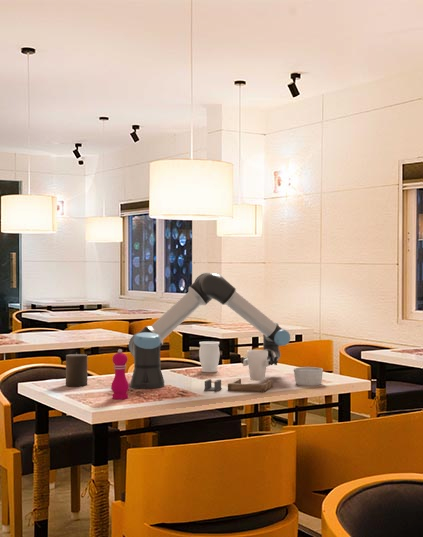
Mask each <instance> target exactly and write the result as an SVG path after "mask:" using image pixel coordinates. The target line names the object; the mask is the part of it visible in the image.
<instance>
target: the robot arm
mask: <svg viewBox="0 0 423 537" xmlns="http://www.w3.org/2000/svg"><path fill="white" fill-rule="evenodd" d="M212 300H215V301H217V302H218V303H219V304H221V305H223V306H224V305H226V306H227V307H229V308H230V310H232V311H233V312H235V314H236V315H238V316H240V317H241V318H242V319H244V320H245V321H246V322H247V323H249V324H250V325H251V326H252V327H253V328H255V329H256V330H258V331H259V332H260V333H261V334H262V338H263V339H262V340H263V343H262V346H263V347H262V348H263V349H262V350H267V351H268V357H267V360H266V361H265V367H266V368H268V367H269V366H273V365H274V366H277V365H278V363H279V360H280V358H281V355H282V354H281V351H280V347H281V346H283V347H284V346H286V345H288V344H290V341H291V334H290V332H289V331H287V329H283V328H282V327H281V326H279V323H276V322H274V321H273V320H272V319H271V318H269V317H268V316H267V315H266V314H264V312H262V311H261V310H260V309H258V308H257V307H256V306H255V305H253V304H252V303H251V302H249V301H248V300H247V299H246V298H244V296H242V295H241V294H240V293H238V292H237V288H235V286H233V285H232V284H231V283H230V282H229V281H227V280H226V279H225V277H223V276H222V275H220V274H218V273H214V272H212V273H211V272H204V273H201V274H200V275H198V276H197V277H196V278H195V280H194V282H193V283H192V284H190V286H188V292H187V293H185V295H183V296H182V297H181V298H180V299H179V300H177V302H176V303H174V305H172V306H171V307H170V308H168V310H167V311H165V313H164V314H162V315H161V316H160V317H159V318H158V319H157V320H156V321H155V322H154V323H152V324H151V325H146V326H145V327H143V328H142V329H141V330H140V331H139V332H137V333H135V334H133V335H132V336H131V337H130V339H129V341H128V350H129V353H130V354H131V356H132V357H133V358H134V359H133V362H134V363H133V364H134V365H133V372H132V375H131V379H130V387H131V388H134V389H158V388H162V387H165V380H164V376H163V373H162V369H161V347H162V346H163V345H164V340H165V339H166V338H167V337H168V336H169V335H170V334H172V332H173V331H174V330H176V329H177V327H179V326H180V325H181V324H182V323H183V322H184V321H186V319H188V318H189V317H190V316H191V315H192V314H193V313H194V312H195V311H196V310H197V309H198V308H199V307H200V306H206V305H207V304H208V303H210V302H211V301H212ZM240 358H241V362H240V363H241V364H242V366H243V367H246V366H249V365H248V357H247V356H245V357H240Z"/></svg>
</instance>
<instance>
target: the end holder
mask: <svg viewBox="0 0 423 537" xmlns="http://www.w3.org/2000/svg"><path fill="white" fill-rule="evenodd" d="M273 384H274V383H273V379H268V380H266V381H265V382H263V383H261V384H255V383H242V378H236V379H234V380H232V381H230V382H228V383H227V391H228V392H245V393H246V392H247V393H265V392H267V391H269V390H270V389H271V388H273V387H274V386H273Z"/></svg>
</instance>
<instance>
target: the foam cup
mask: <svg viewBox="0 0 423 537" xmlns="http://www.w3.org/2000/svg"><path fill="white" fill-rule="evenodd" d="M246 357H248V365H247V366H248V372H249V378H250V380H251V381H254V382H262V381H265V379H266V371H267V367H265V361H266V360H267V357H268V351H267V350H263V349H247V350H246Z"/></svg>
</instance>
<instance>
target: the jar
mask: <svg viewBox="0 0 423 537" xmlns="http://www.w3.org/2000/svg"><path fill="white" fill-rule="evenodd" d="M198 344H199V350H198V356H199V357H198V358H199V364H200V365H201V366H200V367H201V371H200V372H203V373H217V372H218V366H219V363H220V362H219V361H220V355H221V354H220V353H221V352H220V347H219V346H220V341H215V340H211V341H209V340H208V341H207V340H206V341H205V340H204V341H199V343H198Z"/></svg>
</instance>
